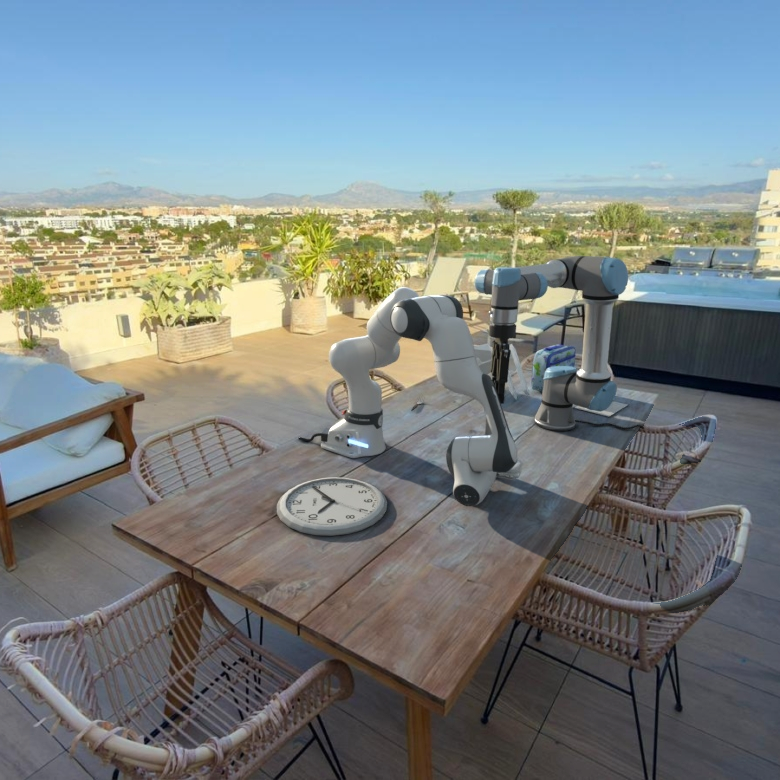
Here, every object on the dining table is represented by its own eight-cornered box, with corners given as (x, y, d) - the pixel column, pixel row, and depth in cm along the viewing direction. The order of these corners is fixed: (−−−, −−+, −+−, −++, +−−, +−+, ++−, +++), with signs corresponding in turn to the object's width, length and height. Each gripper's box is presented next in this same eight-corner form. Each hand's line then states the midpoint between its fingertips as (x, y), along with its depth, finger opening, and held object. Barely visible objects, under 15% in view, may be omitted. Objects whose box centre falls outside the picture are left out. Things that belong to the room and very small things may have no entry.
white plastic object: (461, 429, 252) (437, 405, 227) (444, 352, 274) (420, 323, 250) (535, 404, 240) (518, 377, 215) (510, 326, 262) (492, 293, 237)
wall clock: (392, 527, 129) (268, 531, 127) (391, 533, 130) (269, 537, 127) (383, 473, 158) (282, 475, 155) (383, 478, 158) (282, 480, 156)
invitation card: (608, 416, 214) (573, 407, 224) (608, 416, 214) (573, 408, 224) (628, 404, 229) (594, 396, 238) (628, 405, 229) (594, 397, 238)
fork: (408, 411, 216) (408, 407, 215) (419, 400, 230) (419, 396, 229) (414, 412, 215) (414, 407, 214) (425, 401, 229) (425, 396, 229)
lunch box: (547, 397, 237) (552, 352, 231) (526, 391, 245) (531, 348, 238) (574, 386, 255) (580, 344, 249) (554, 381, 262) (559, 340, 256)
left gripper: (518, 468, 145) (527, 450, 157) (448, 455, 153) (461, 438, 165) (516, 489, 147) (525, 469, 159) (447, 474, 155) (460, 457, 167)
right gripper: (484, 317, 157) (479, 391, 164) (496, 328, 141) (489, 410, 148) (509, 318, 157) (503, 391, 164) (523, 328, 141) (516, 410, 148)
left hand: (492, 453), depth 162 cm, fingers closed on bottle, 5 cm apart
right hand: (496, 400), depth 156 cm, fingers closed on cap, 4 cm apart
